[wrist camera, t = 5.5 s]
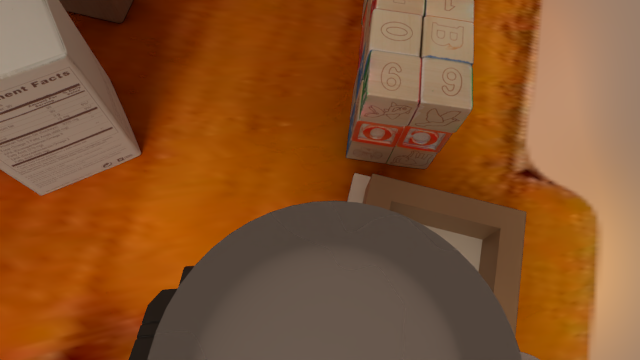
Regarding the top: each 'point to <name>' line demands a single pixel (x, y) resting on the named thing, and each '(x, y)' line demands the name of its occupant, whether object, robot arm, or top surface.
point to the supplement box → (55, 101)
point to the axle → (334, 293)
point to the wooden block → (99, 8)
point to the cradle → (459, 229)
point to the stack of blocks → (411, 80)
